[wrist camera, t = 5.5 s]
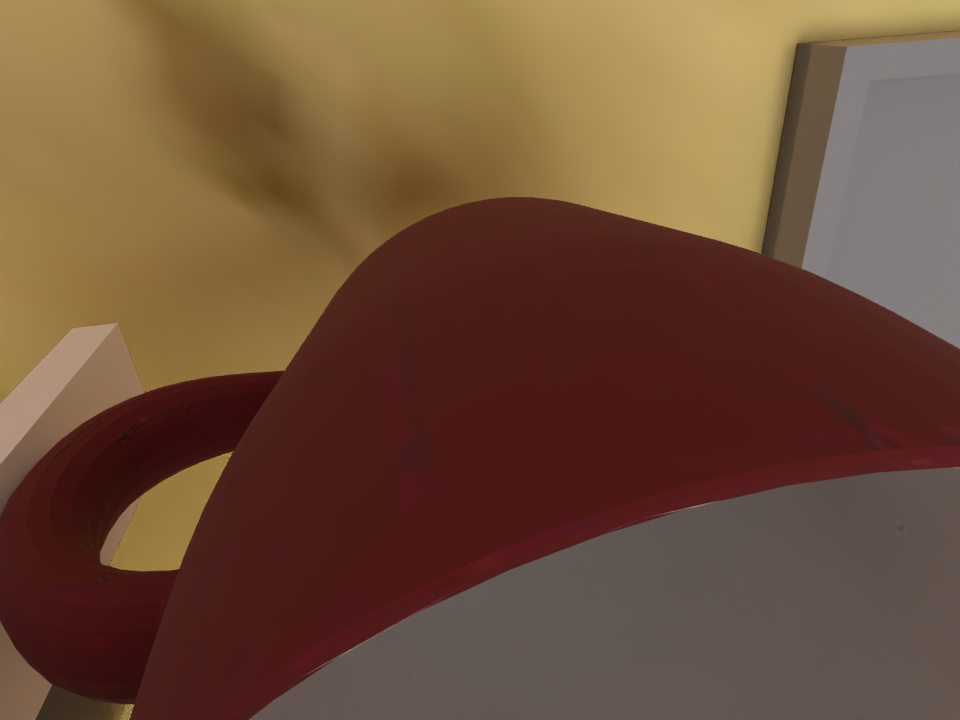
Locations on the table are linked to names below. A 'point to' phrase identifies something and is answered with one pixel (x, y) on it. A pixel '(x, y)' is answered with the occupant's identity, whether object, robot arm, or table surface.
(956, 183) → the tray
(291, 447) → the mug
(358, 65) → the table surface
